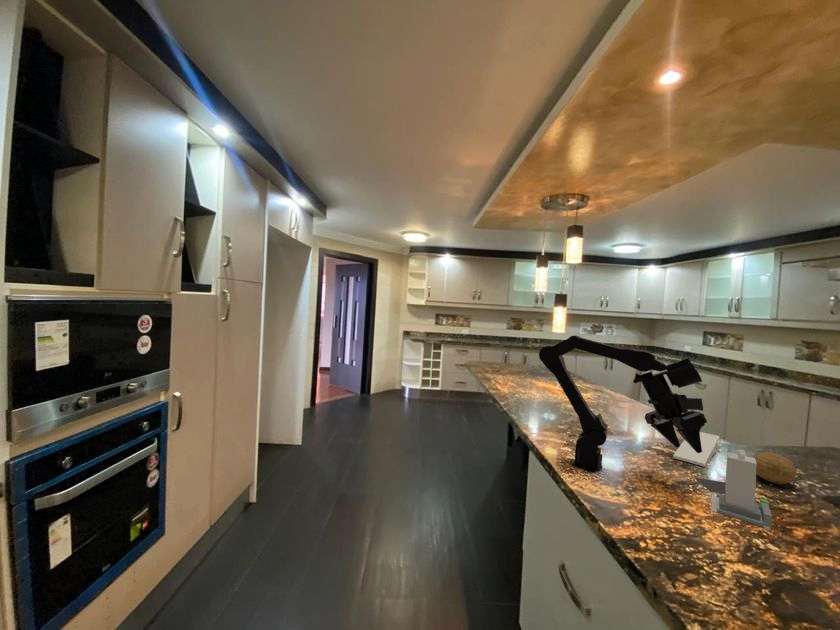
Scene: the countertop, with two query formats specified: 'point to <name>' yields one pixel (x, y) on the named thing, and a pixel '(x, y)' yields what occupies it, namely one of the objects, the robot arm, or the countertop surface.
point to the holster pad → (713, 485)
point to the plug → (740, 486)
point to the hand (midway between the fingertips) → (688, 449)
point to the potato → (774, 468)
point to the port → (764, 516)
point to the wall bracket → (709, 447)
